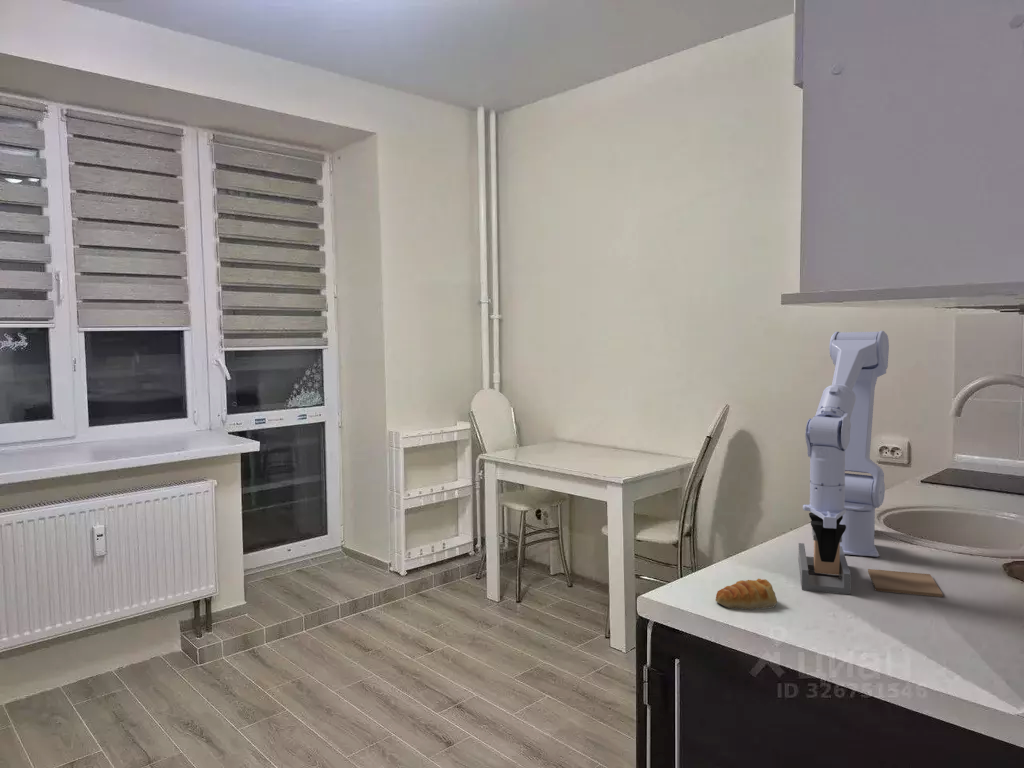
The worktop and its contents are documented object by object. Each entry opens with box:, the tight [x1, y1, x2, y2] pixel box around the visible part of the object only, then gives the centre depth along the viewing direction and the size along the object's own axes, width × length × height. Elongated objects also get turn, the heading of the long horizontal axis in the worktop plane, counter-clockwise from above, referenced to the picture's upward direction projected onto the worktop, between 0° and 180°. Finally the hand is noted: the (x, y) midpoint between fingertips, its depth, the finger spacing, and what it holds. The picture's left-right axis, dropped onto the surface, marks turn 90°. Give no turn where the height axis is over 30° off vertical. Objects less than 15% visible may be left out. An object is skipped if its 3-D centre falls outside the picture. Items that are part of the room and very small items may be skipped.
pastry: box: [715, 578, 778, 610], centre depth 117 cm, size 9×7×4 cm
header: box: [797, 542, 852, 595], centre depth 128 cm, size 16×8×4 cm, turn 160°
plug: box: [811, 527, 842, 576], centre depth 128 cm, size 5×5×7 cm
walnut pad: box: [867, 568, 944, 598], centre depth 124 cm, size 10×10×1 cm
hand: (826, 557), depth 128 cm, fingers closed on plug, 4 cm apart
